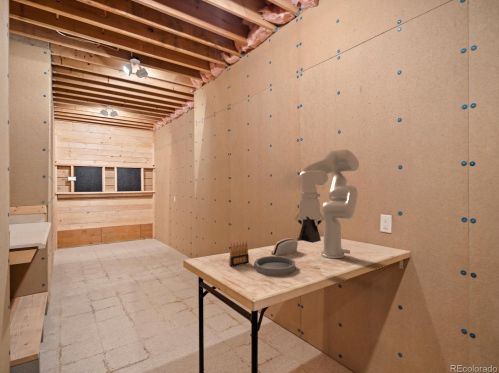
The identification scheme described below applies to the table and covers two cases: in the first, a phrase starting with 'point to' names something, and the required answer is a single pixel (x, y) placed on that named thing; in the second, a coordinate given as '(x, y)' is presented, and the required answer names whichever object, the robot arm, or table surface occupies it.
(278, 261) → the round tray
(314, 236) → the phone stand
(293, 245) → the white electronic device
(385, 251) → the table surface
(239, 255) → the ammunition clip
